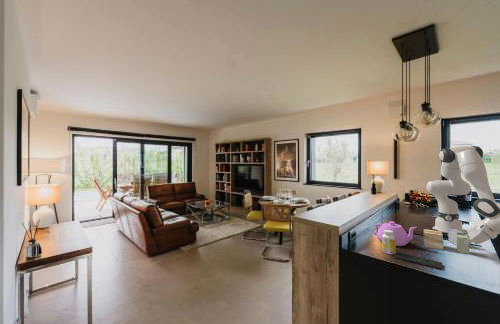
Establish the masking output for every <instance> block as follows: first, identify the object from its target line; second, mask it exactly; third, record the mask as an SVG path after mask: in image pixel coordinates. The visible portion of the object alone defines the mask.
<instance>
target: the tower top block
mask: <svg viewBox="0 0 500 324" xmlns="http://www.w3.org/2000/svg"><path fill="white" fill-rule="evenodd" d="M443 236H444V235H443V232H442V231H438V230H435V229H426V228H423V241H424V240H429V241H435V242H441V243H443V244H444V238H443Z"/></svg>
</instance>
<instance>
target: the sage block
mask: <svg viewBox="0 0 500 324" xmlns="http://www.w3.org/2000/svg"><path fill="white" fill-rule="evenodd" d="M467 239H469V238H468V236H466V235H465V236H463V235H456V244H457V245H456V252H457V253H462V254H467V255H470V243H469V244H467V245H465V244H464V243H463V241H465V240H467Z"/></svg>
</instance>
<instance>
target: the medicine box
mask: <svg viewBox="0 0 500 324" xmlns="http://www.w3.org/2000/svg"><path fill="white" fill-rule="evenodd" d="M447 235H448V243H451V244H453V245H455V246H457V244H456V235H463V236H466V233H464V232H461V231H459V230H456V229H448V233H447Z"/></svg>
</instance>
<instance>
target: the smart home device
mask: <svg viewBox="0 0 500 324" xmlns="http://www.w3.org/2000/svg"><path fill="white" fill-rule="evenodd" d="M393 258H394V259H395V260H398V261H403V262H406V263H410V264H411V263H412V264H415V265H418V266H423V267H426V268H430V269H434V270H439V271H442V270H443V262H441V261H438V260H434V259H428V258H424V257H420V256H416V255H415V256H414V255H412V254H411V255H410V254H407V253H404V252H403V253H402V252H397V251H396V253H395V254H394V256H393Z"/></svg>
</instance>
